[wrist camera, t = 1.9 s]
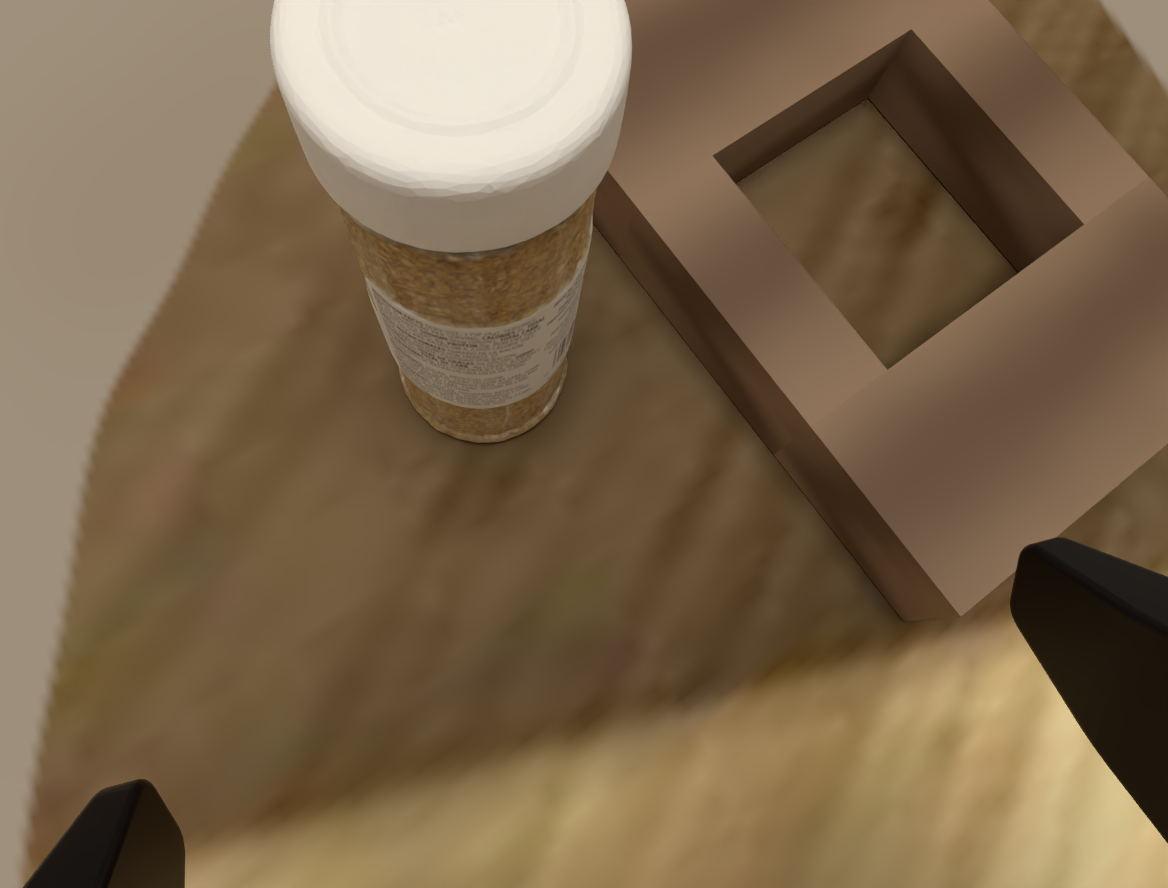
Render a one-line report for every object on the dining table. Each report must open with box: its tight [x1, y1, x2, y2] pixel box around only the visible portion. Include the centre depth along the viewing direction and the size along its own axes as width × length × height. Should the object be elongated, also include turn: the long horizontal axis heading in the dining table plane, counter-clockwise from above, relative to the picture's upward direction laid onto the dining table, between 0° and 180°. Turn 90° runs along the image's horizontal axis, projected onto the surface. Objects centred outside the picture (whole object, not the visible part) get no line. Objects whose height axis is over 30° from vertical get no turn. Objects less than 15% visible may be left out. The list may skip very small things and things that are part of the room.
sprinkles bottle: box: [270, 0, 632, 443], centre depth 17 cm, size 5×5×13 cm
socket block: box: [592, 0, 1168, 622], centre depth 24 cm, size 18×12×3 cm, turn 36°
